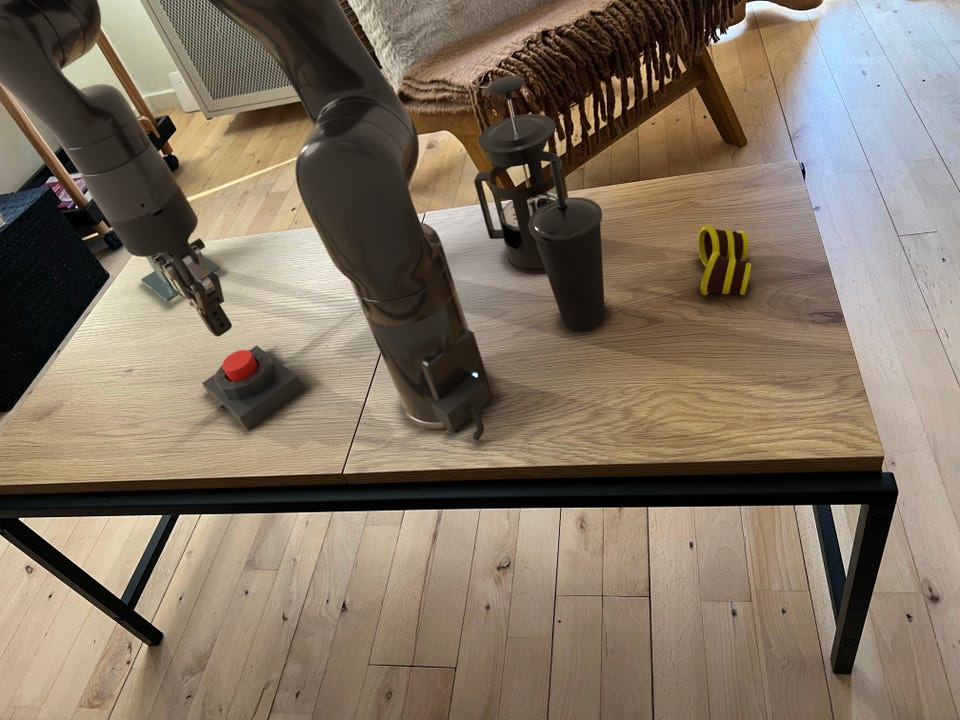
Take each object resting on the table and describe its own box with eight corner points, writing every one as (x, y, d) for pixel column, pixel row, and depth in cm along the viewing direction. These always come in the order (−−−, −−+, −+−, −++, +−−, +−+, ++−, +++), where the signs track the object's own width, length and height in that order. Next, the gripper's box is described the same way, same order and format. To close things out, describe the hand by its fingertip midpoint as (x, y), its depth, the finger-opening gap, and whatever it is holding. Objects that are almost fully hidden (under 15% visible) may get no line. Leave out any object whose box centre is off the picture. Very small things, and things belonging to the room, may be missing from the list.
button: (263, 367, 90) (257, 356, 89) (237, 386, 89) (230, 375, 88) (248, 356, 93) (242, 345, 92) (223, 374, 91) (216, 363, 90)
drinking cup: (584, 349, 85) (552, 191, 72) (537, 323, 90) (500, 171, 77) (632, 312, 88) (609, 153, 75) (584, 289, 93) (555, 136, 80)
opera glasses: (747, 307, 85) (756, 270, 82) (697, 303, 86) (704, 267, 82) (741, 255, 92) (749, 219, 89) (695, 252, 93) (701, 216, 89)
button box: (304, 389, 91) (291, 364, 89) (247, 431, 88) (232, 406, 86) (263, 358, 98) (250, 334, 95) (209, 395, 95) (194, 372, 92)
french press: (589, 228, 102) (559, 56, 87) (578, 272, 96) (544, 94, 81) (503, 233, 106) (461, 70, 91) (487, 276, 100) (439, 107, 85)
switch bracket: (222, 273, 116) (181, 199, 108) (170, 306, 113) (123, 233, 104) (194, 254, 123) (153, 183, 115) (144, 285, 119) (98, 214, 111)
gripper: (83, 201, 79) (170, 329, 90) (129, 234, 70) (219, 372, 81) (148, 164, 82) (224, 293, 93) (201, 192, 73) (278, 331, 84)
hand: (222, 330), depth 87 cm, fingers closed
